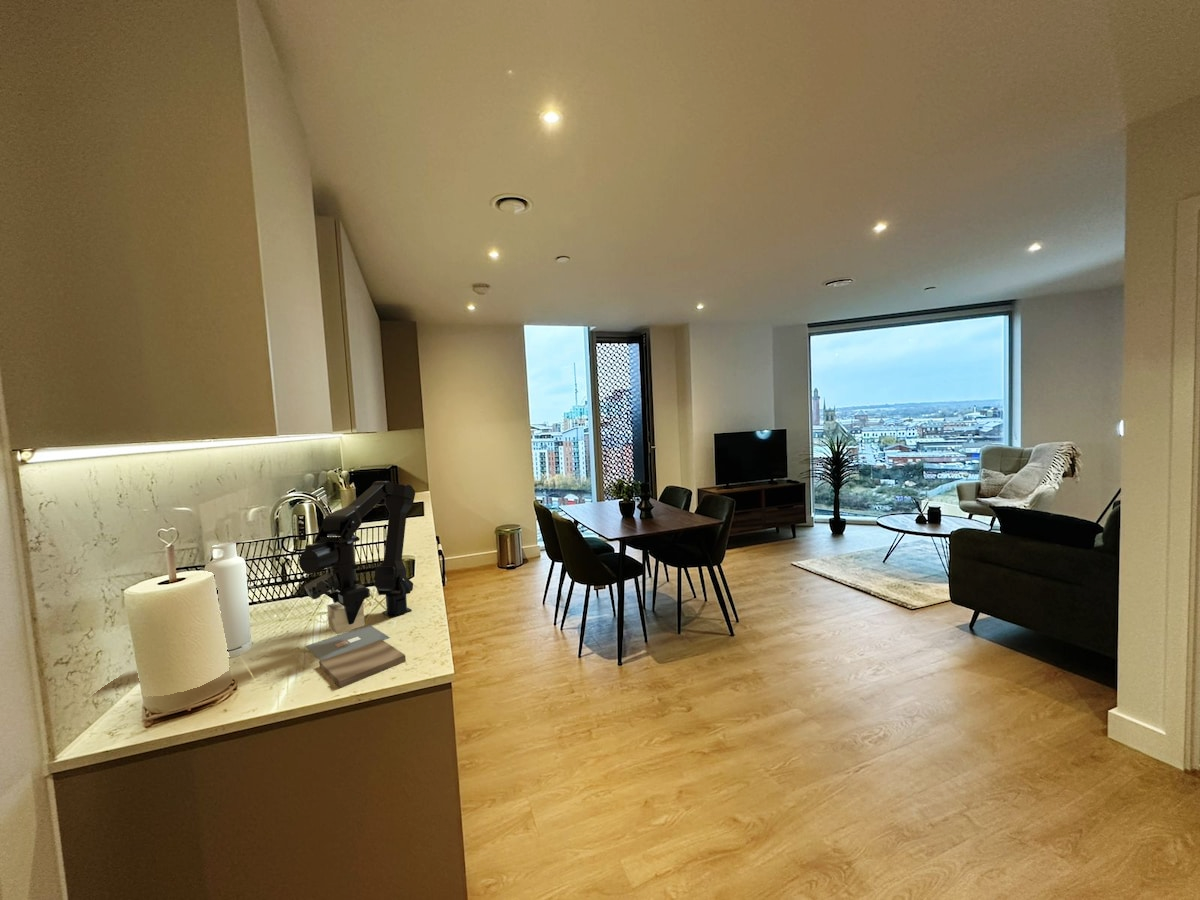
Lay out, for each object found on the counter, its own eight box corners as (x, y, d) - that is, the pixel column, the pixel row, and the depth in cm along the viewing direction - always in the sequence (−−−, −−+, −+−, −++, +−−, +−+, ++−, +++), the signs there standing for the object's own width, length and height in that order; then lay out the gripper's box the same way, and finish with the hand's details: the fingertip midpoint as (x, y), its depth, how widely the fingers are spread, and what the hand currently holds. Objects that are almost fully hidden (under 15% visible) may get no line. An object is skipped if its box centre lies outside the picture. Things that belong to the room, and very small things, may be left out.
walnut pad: (319, 667, 103) (319, 661, 103) (381, 644, 114) (381, 639, 113) (340, 688, 94) (339, 681, 94) (405, 661, 104) (405, 655, 104)
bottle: (259, 644, 118) (252, 540, 117) (234, 659, 110) (226, 547, 109) (229, 645, 118) (221, 541, 117) (202, 660, 110) (193, 549, 109)
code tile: (305, 646, 115) (304, 645, 115) (369, 625, 126) (369, 624, 126) (321, 663, 105) (321, 662, 105) (390, 638, 117) (390, 637, 117)
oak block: (328, 627, 115) (327, 605, 115) (355, 619, 120) (354, 597, 120) (337, 634, 111) (335, 610, 111) (364, 625, 116) (363, 602, 116)
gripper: (296, 564, 116) (300, 622, 116) (318, 576, 103) (322, 642, 103) (343, 554, 124) (346, 609, 124) (368, 564, 111) (372, 625, 112)
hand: (346, 620), depth 116 cm, fingers closed on oak block, 6 cm apart
